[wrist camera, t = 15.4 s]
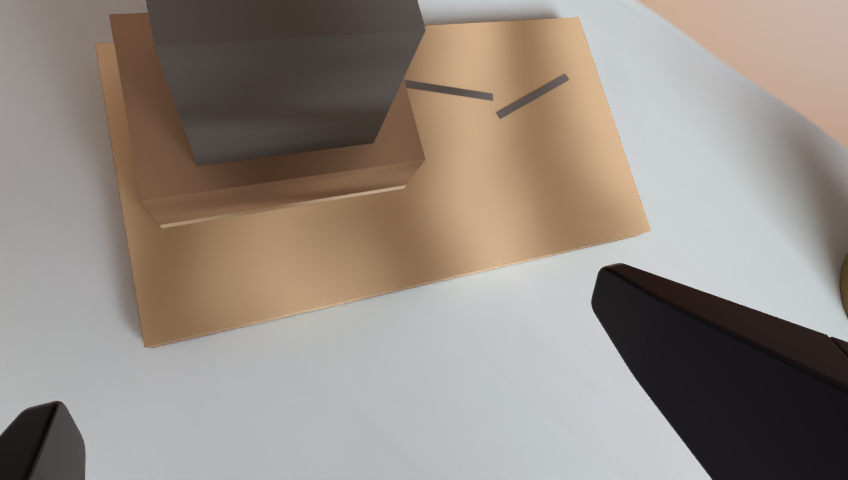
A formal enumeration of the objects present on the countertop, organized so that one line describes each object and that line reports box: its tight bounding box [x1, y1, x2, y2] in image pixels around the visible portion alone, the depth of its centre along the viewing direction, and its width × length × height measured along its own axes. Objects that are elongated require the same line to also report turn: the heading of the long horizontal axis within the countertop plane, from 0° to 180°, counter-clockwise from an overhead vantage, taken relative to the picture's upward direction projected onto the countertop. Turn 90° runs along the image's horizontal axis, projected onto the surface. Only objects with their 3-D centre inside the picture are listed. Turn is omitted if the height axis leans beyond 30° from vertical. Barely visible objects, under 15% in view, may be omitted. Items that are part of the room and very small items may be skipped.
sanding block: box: [109, 0, 426, 228], centre depth 14 cm, size 8×6×8 cm
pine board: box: [95, 17, 651, 348], centre depth 20 cm, size 19×10×1 cm, turn 105°
